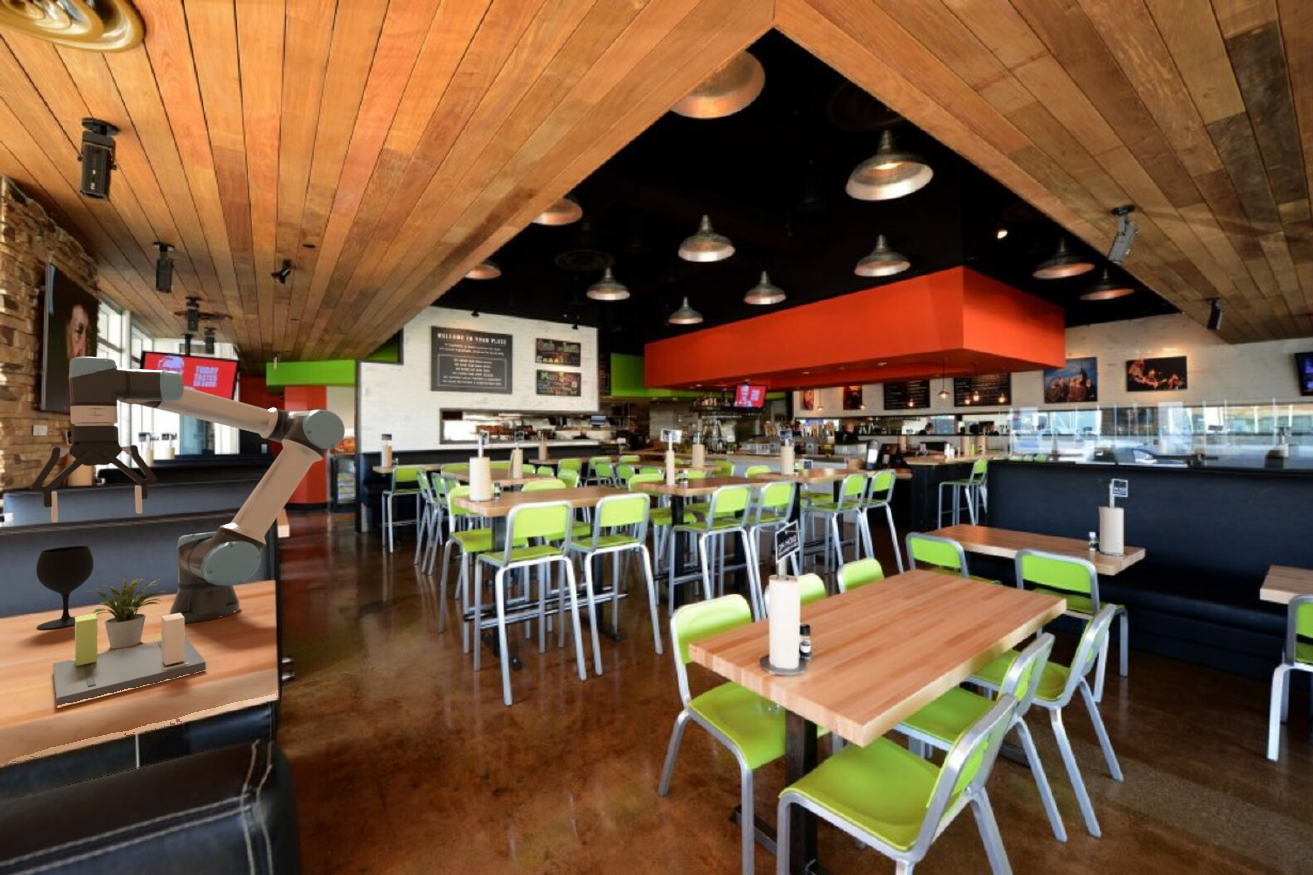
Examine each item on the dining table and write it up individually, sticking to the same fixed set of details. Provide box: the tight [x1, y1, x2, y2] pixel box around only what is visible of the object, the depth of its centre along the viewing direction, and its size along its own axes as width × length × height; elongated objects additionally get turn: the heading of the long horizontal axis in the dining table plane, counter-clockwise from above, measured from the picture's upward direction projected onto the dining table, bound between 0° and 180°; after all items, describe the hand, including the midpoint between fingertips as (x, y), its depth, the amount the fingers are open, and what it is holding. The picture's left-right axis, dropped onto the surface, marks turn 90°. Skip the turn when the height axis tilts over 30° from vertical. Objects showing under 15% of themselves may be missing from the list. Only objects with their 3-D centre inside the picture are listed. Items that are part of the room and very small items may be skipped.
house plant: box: [84, 575, 169, 649], centre depth 129 cm, size 14×14×16 cm
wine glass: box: [35, 545, 95, 631], centre depth 146 cm, size 10×10×20 cm
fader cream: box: [161, 613, 186, 665], centre depth 114 cm, size 3×5×9 cm, turn 49°
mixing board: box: [52, 636, 207, 707], centre depth 114 cm, size 21×24×2 cm
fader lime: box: [74, 613, 98, 666], centre depth 114 cm, size 3×5×9 cm, turn 49°
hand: (98, 517), depth 125 cm, fingers open, 13 cm apart
